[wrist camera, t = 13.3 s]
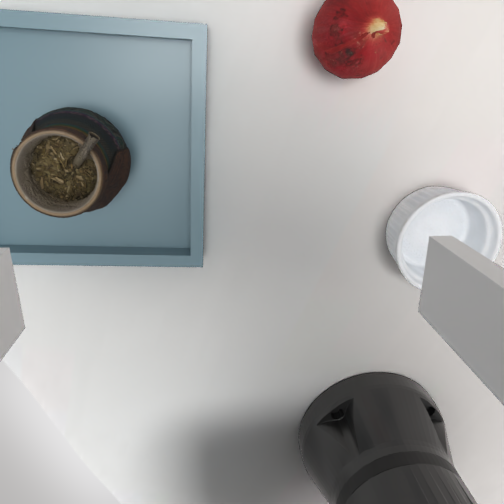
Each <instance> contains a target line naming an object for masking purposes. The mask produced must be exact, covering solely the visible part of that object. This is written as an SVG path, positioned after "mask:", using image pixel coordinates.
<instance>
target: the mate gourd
mask: <svg viewBox="0 0 504 504" xmlns="http://www.w3.org/2000/svg"><path fill="white" fill-rule="evenodd" d="M21 141H22V142H20V144H19V145H16V146H17V147H15V148H14V149H13V148H12V150H13V152H12V155H11V159H10V173H11V178H12V182H13V185H14V187H15V189H16V191H17V192H18V194H19V195H20V197H21V198H22V199H23V201H24V202H25V203H27V204H28V205H29V206H30V207H31V208H33V209H34V210H36V211H38V212H40V213H42V214H45V215H48V216H51V217H57V218H69V217H73V216H77V215H80V214H82V213H84V212H91V211H94V210H97V209H101V208H104V207H105V206H107V205H108V204H109V203H110V202H111V201H112V200H113V199H114V197H115V196H116V195H117V194H118V193H119V192H120V190H121V189H122V187H123V186H124V185H125V184H126V182H127V180H128V177H129V173H130V167H131V155H130V150H129V148H128V147H127V144H126V143H125V141H124V138H123V137H122V135H121V133H120V132H119V130H118V129H117V128H116V127H115V126H114V125H113V124H112V123H111V122H110V121H108V120H107V119H106V118H105V117H103V116H101V115H99V114H98V113H95V112H93V111H91V110H88V109H83V108H76V107H64V108H60V109H56V110H52V111H50V112H47V113H45V114H43V115H42V116H41V117H39V118H36V119H35V120H34V121H33V123H32V125H31V126H30V127H29V128H28V129H27V130H26V132H25V133H24V135H23V136H22V139H21Z"/></svg>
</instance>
